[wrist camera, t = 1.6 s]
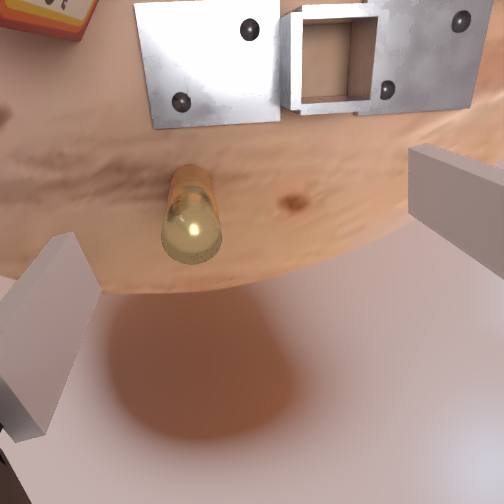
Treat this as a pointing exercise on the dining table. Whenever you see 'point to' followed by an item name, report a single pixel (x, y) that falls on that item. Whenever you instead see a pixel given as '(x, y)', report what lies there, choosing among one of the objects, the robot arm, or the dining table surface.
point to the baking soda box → (48, 16)
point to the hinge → (290, 58)
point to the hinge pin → (191, 217)
